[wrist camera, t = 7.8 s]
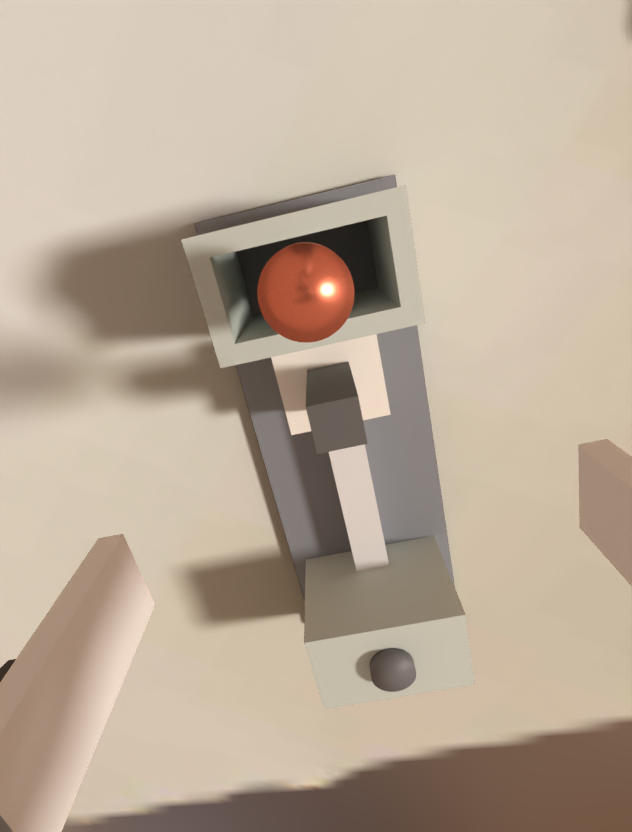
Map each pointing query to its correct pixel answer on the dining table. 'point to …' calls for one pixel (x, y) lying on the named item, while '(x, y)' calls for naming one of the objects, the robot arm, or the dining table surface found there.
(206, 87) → the dining table surface
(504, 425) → the dining table surface
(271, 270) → the ball
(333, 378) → the block
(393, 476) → the rail fixture
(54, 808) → the robot arm
